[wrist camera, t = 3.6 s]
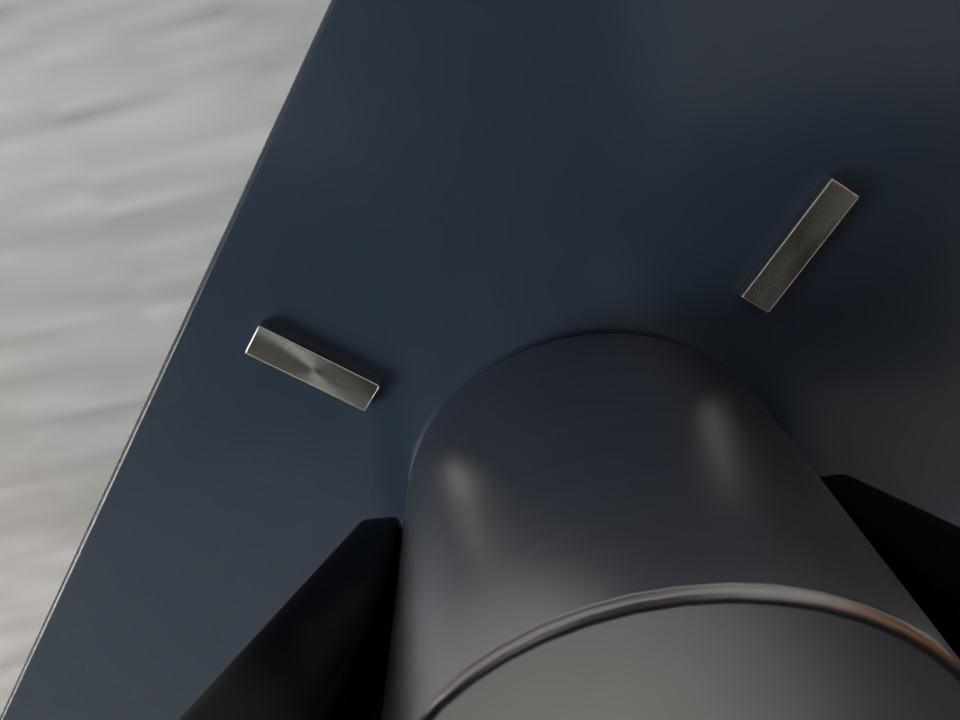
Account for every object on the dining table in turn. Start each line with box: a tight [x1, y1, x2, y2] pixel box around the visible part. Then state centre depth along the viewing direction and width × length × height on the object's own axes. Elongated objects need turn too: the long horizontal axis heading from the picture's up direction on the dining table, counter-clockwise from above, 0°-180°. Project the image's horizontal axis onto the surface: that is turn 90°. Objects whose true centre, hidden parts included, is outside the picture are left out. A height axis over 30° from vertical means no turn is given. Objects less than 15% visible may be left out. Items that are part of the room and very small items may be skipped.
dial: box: [381, 334, 960, 720], centre depth 7 cm, size 4×4×4 cm
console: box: [0, 0, 960, 720], centre depth 10 cm, size 14×10×3 cm
